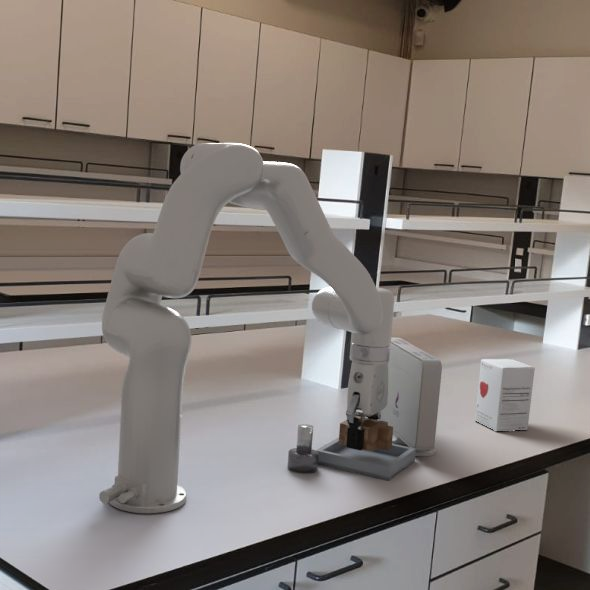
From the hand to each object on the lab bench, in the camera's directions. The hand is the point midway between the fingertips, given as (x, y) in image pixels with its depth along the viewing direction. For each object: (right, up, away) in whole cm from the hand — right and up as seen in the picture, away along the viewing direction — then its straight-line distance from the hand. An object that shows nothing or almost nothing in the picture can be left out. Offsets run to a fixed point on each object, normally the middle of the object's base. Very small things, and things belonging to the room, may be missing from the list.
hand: (362, 443), depth 166 cm
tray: (+1, -4, 0) cm, 4 cm away
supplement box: (+34, -2, +33) cm, 48 cm away
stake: (-12, -4, -6) cm, 14 cm away
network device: (+10, -2, +15) cm, 18 cm away
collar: (0, 0, 0) cm, 0 cm away
